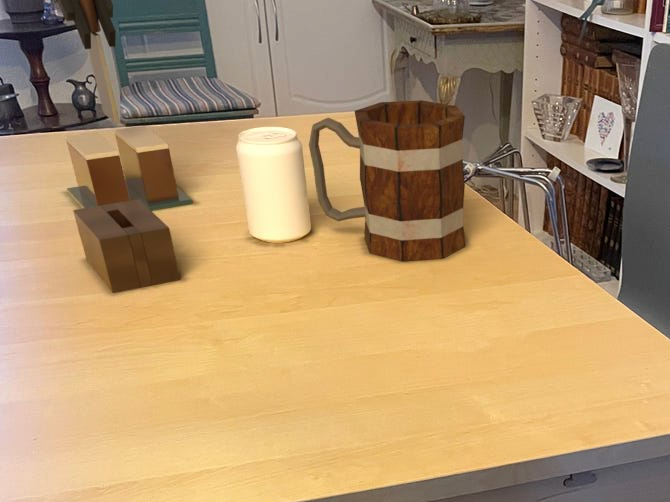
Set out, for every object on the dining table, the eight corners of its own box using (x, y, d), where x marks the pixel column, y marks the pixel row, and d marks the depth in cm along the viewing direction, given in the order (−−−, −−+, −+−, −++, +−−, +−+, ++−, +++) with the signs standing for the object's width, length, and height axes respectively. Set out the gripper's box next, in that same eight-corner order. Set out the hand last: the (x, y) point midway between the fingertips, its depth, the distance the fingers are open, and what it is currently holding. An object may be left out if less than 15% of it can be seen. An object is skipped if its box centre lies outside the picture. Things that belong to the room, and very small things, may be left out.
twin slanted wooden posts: (67, 192, 136) (52, 134, 131) (162, 178, 142) (151, 122, 137) (92, 220, 127) (77, 159, 122) (192, 203, 133) (181, 144, 128)
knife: (96, 113, 129) (55, -57, 116) (114, 111, 130) (75, -58, 117) (108, 123, 125) (67, -52, 113) (126, 121, 126) (87, -53, 114)
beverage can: (237, 233, 124) (221, 133, 116) (289, 219, 128) (276, 122, 120) (271, 250, 119) (257, 147, 111) (323, 235, 124) (313, 135, 115)
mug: (475, 228, 126) (475, 102, 116) (455, 265, 116) (453, 131, 106) (334, 219, 128) (322, 95, 118) (303, 254, 118) (287, 122, 108)
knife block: (86, 260, 116) (72, 209, 112) (150, 248, 119) (139, 199, 115) (113, 293, 109) (99, 240, 105) (180, 279, 112) (169, 227, 108)
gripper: (92, -113, 125) (158, 54, 125) (-32, -109, 119) (39, 67, 119) (91, -164, 118) (162, 13, 118) (-40, -163, 112) (35, 24, 112)
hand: (100, 40), depth 119 cm, fingers closed on knife, 2 cm apart
